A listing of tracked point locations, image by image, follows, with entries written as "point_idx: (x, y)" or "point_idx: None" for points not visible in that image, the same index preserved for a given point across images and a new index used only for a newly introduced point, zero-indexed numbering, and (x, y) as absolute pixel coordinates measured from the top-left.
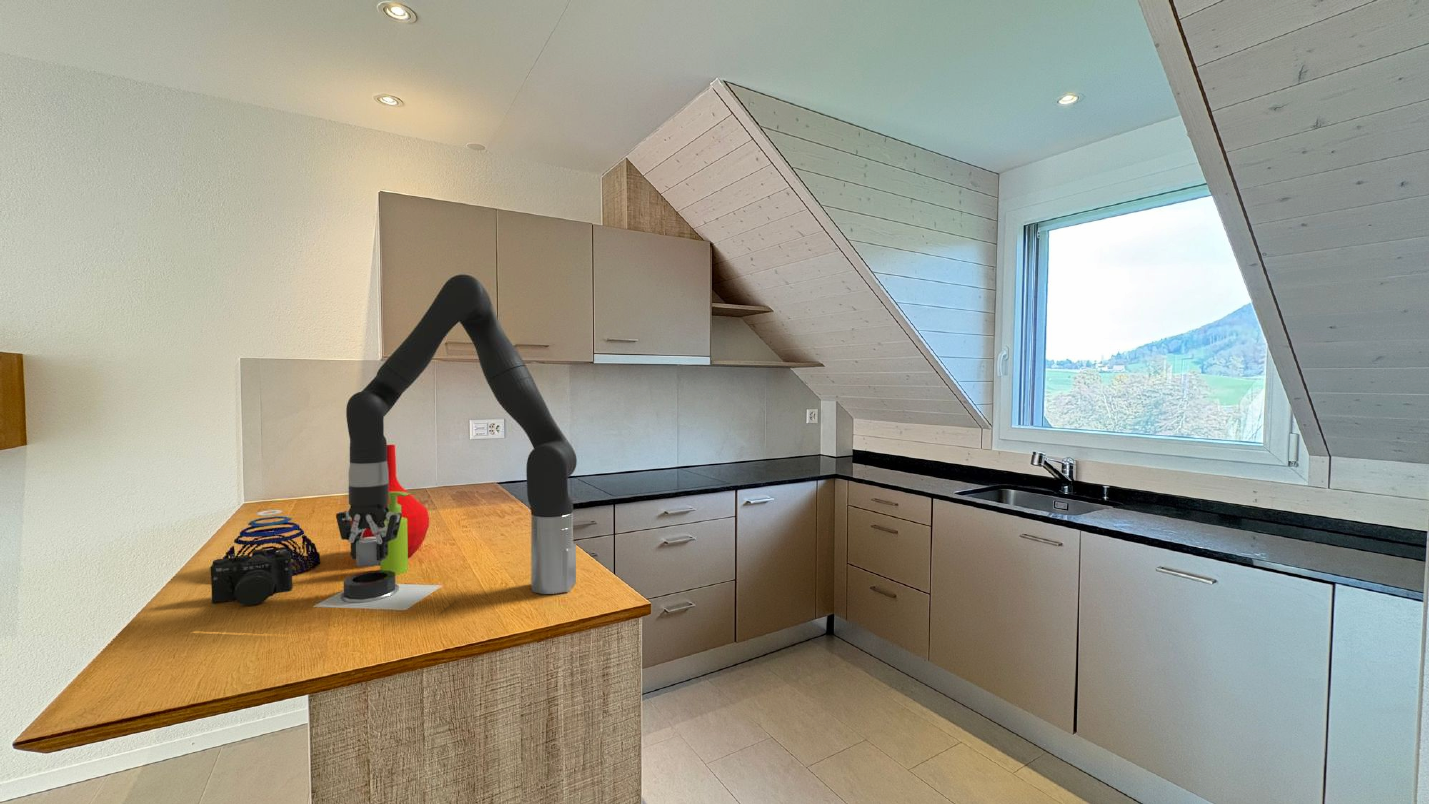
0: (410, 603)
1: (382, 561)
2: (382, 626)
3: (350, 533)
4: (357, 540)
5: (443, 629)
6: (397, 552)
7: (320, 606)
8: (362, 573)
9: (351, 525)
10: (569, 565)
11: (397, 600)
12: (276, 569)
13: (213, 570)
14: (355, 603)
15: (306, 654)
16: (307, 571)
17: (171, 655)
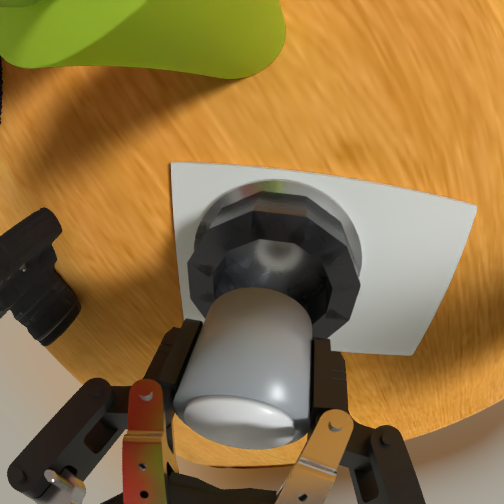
0: (417, 328)
1: (309, 318)
2: (381, 394)
3: (113, 419)
4: (171, 408)
5: (467, 392)
6: (252, 48)
7: None
8: (210, 248)
9: (77, 436)
10: None
11: (382, 313)
12: (15, 276)
13: None
14: None
15: (305, 437)
16: (2, 93)
17: None
